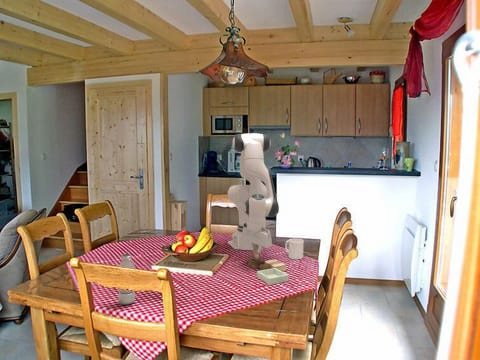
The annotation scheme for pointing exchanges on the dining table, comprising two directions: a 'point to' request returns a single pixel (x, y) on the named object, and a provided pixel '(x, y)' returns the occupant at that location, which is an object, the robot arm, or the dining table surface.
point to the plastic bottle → (126, 295)
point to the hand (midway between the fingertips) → (256, 251)
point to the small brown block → (264, 267)
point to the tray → (272, 276)
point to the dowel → (256, 255)
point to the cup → (295, 248)
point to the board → (276, 264)
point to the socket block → (255, 263)
